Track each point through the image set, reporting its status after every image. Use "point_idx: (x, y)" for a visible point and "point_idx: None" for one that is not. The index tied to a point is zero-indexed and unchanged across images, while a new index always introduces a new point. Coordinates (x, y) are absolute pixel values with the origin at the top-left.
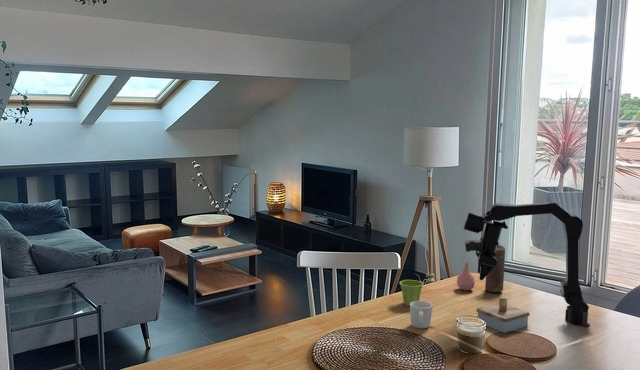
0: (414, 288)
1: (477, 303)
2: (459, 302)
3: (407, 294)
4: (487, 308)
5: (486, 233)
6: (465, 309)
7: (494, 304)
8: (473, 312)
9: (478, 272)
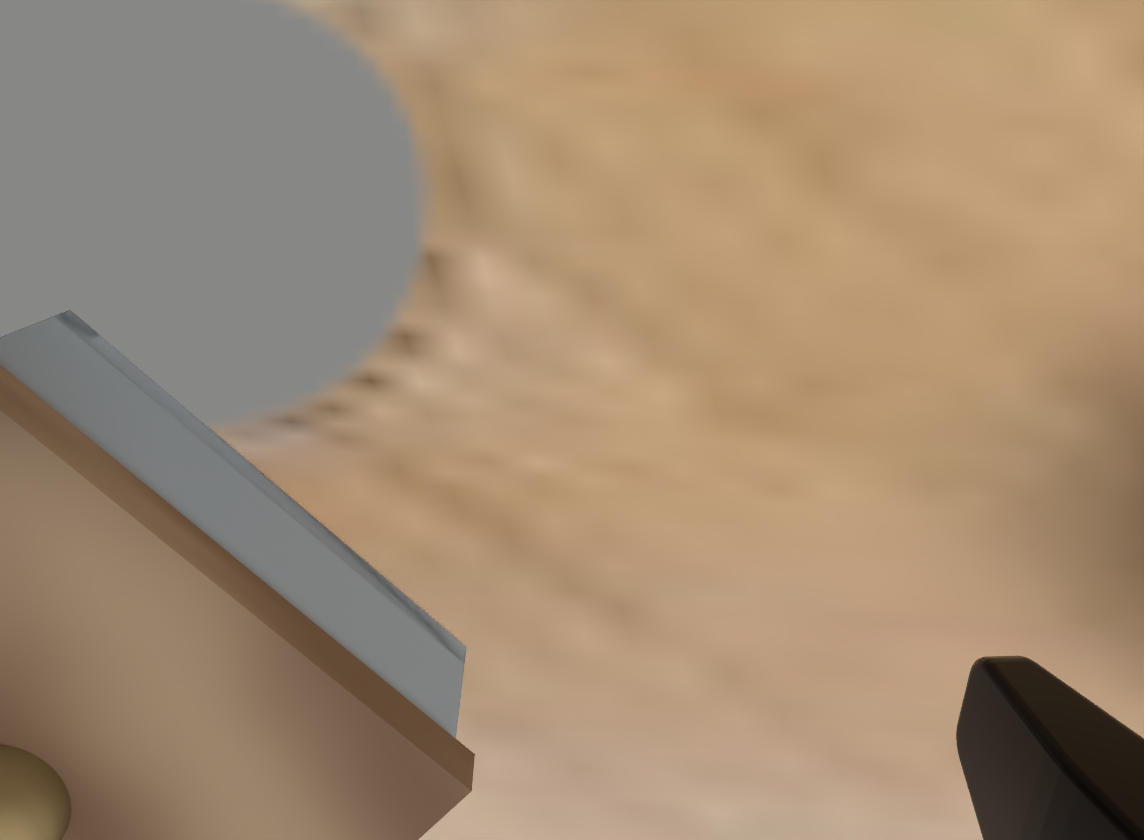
0: None
1: (1097, 355)
2: (1122, 35)
3: None
4: (3, 551)
5: None
6: (746, 136)
7: (314, 686)
8: (617, 269)
9: (969, 682)
